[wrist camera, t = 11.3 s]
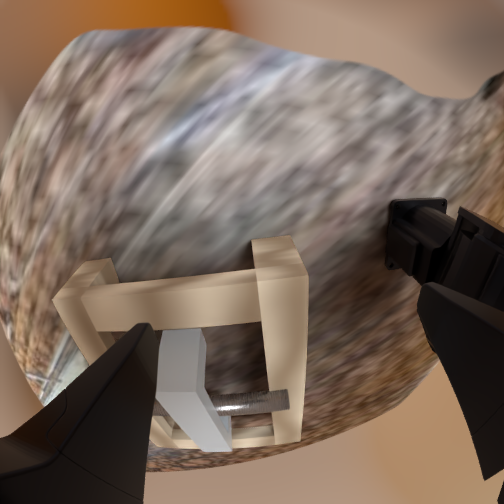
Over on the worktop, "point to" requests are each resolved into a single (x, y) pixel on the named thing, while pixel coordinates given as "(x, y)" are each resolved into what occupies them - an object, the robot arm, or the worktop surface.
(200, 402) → the long white beam
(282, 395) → the rod
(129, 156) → the worktop surface
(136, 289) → the shelf
